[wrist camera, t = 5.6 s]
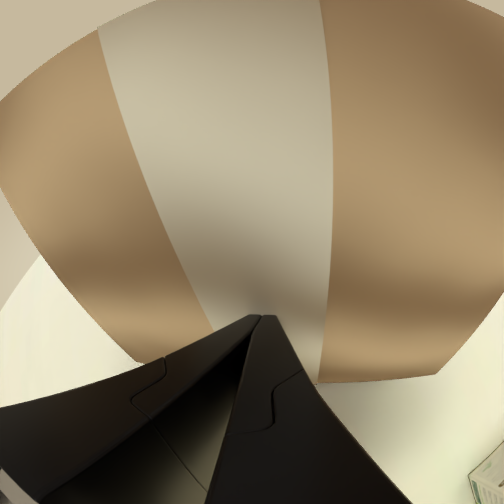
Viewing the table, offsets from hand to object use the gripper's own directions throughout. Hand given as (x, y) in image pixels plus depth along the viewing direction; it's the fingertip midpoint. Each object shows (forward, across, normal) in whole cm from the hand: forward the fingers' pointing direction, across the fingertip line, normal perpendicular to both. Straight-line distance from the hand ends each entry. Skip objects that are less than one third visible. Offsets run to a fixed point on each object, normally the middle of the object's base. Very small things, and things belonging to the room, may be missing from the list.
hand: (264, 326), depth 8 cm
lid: (+1, 0, +2) cm, 2 cm away
